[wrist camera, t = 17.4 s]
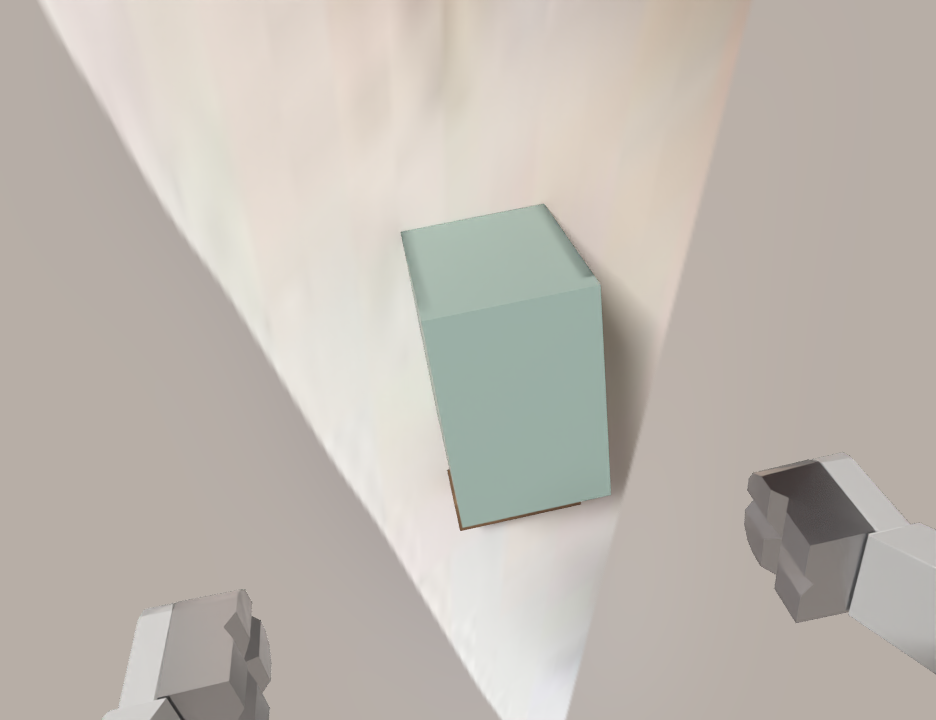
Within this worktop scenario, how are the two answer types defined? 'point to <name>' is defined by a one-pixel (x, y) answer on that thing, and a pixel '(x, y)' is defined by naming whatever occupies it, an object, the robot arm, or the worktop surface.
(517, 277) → the sage green upright block
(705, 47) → the worktop surface
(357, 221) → the worktop surface
